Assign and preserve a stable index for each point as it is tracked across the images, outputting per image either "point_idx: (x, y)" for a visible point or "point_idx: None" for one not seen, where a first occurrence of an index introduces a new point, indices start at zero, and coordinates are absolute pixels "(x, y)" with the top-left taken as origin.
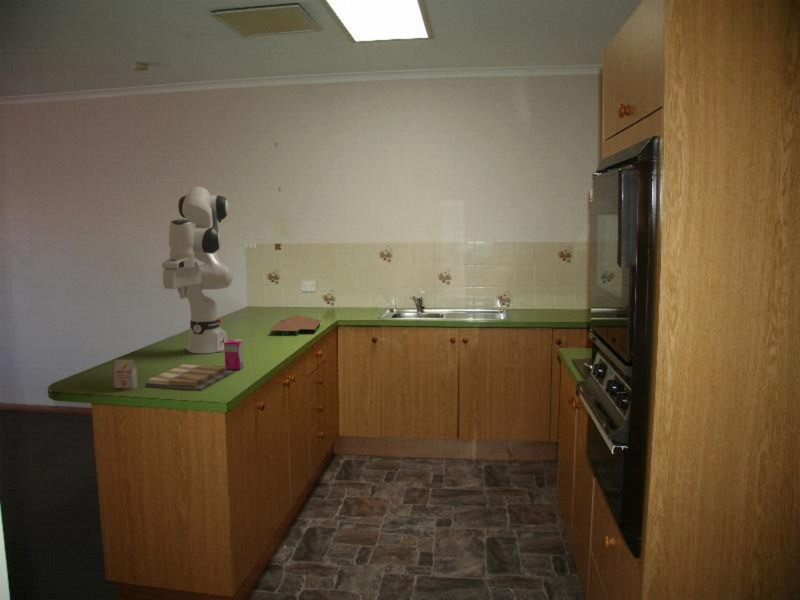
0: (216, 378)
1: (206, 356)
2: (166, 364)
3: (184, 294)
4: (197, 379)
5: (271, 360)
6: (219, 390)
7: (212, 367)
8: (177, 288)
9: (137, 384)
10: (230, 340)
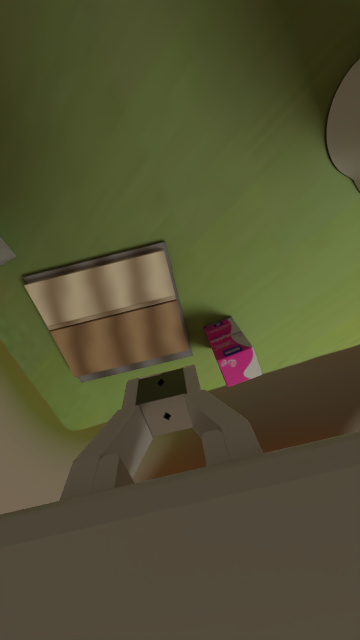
0: (137, 365)
1: (303, 188)
2: (188, 146)
3: (149, 432)
4: (89, 369)
5: (300, 349)
6: (101, 397)
7: (170, 332)
8: (67, 483)
9: (13, 257)
10: (244, 358)
